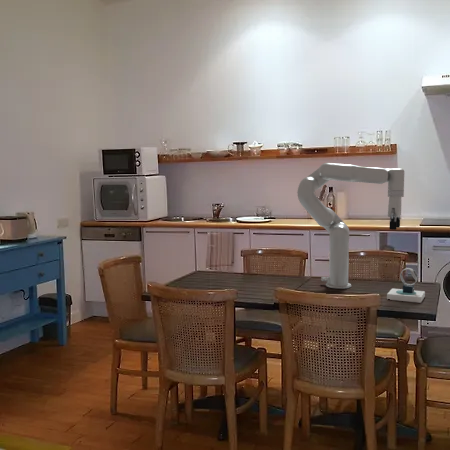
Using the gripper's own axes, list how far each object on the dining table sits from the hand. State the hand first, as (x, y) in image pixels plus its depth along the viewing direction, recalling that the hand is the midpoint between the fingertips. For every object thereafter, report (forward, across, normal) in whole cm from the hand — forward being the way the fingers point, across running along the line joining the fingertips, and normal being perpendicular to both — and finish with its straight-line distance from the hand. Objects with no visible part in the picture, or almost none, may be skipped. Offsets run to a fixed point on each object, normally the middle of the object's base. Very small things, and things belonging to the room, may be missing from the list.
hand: (394, 228), depth 285 cm
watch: (+28, +15, +10) cm, 33 cm away
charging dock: (+30, +11, +9) cm, 34 cm away
